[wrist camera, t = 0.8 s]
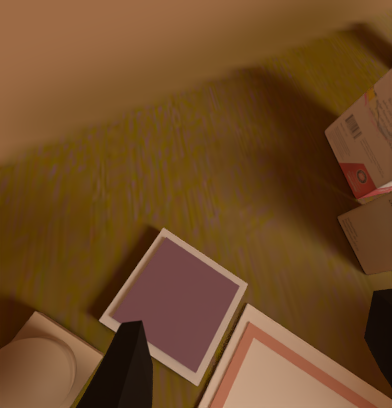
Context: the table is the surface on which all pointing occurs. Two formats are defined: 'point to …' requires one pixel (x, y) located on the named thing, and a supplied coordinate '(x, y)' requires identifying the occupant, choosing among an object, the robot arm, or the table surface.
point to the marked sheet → (282, 372)
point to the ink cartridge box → (366, 140)
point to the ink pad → (178, 304)
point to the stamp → (44, 365)
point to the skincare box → (371, 233)
